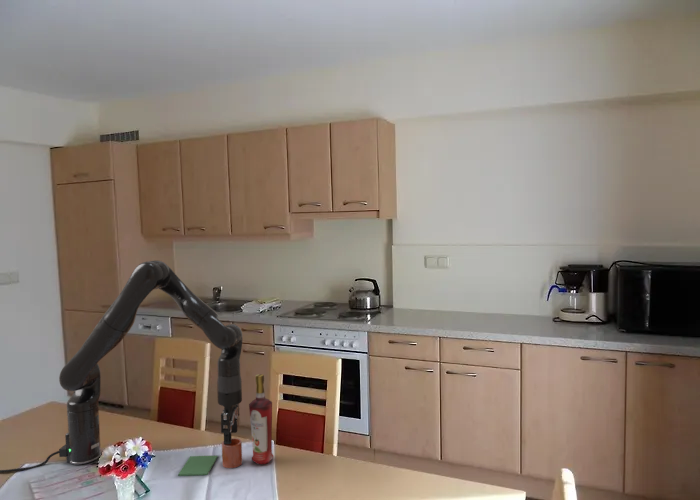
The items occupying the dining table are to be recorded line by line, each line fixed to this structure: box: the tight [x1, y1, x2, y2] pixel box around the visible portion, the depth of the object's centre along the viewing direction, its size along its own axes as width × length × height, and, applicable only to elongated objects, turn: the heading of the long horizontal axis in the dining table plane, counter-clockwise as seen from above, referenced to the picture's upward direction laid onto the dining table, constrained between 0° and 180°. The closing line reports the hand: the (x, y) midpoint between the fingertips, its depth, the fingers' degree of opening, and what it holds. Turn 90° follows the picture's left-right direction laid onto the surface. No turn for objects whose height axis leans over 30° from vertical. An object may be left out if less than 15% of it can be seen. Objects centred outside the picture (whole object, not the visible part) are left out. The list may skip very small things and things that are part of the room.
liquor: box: [248, 373, 274, 465], centre depth 159 cm, size 7×7×28 cm
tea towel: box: [177, 455, 219, 477], centre depth 158 cm, size 9×12×1 cm
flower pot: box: [221, 437, 243, 469], centre depth 159 cm, size 6×6×7 cm
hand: (230, 437), depth 158 cm, fingers open, 8 cm apart
